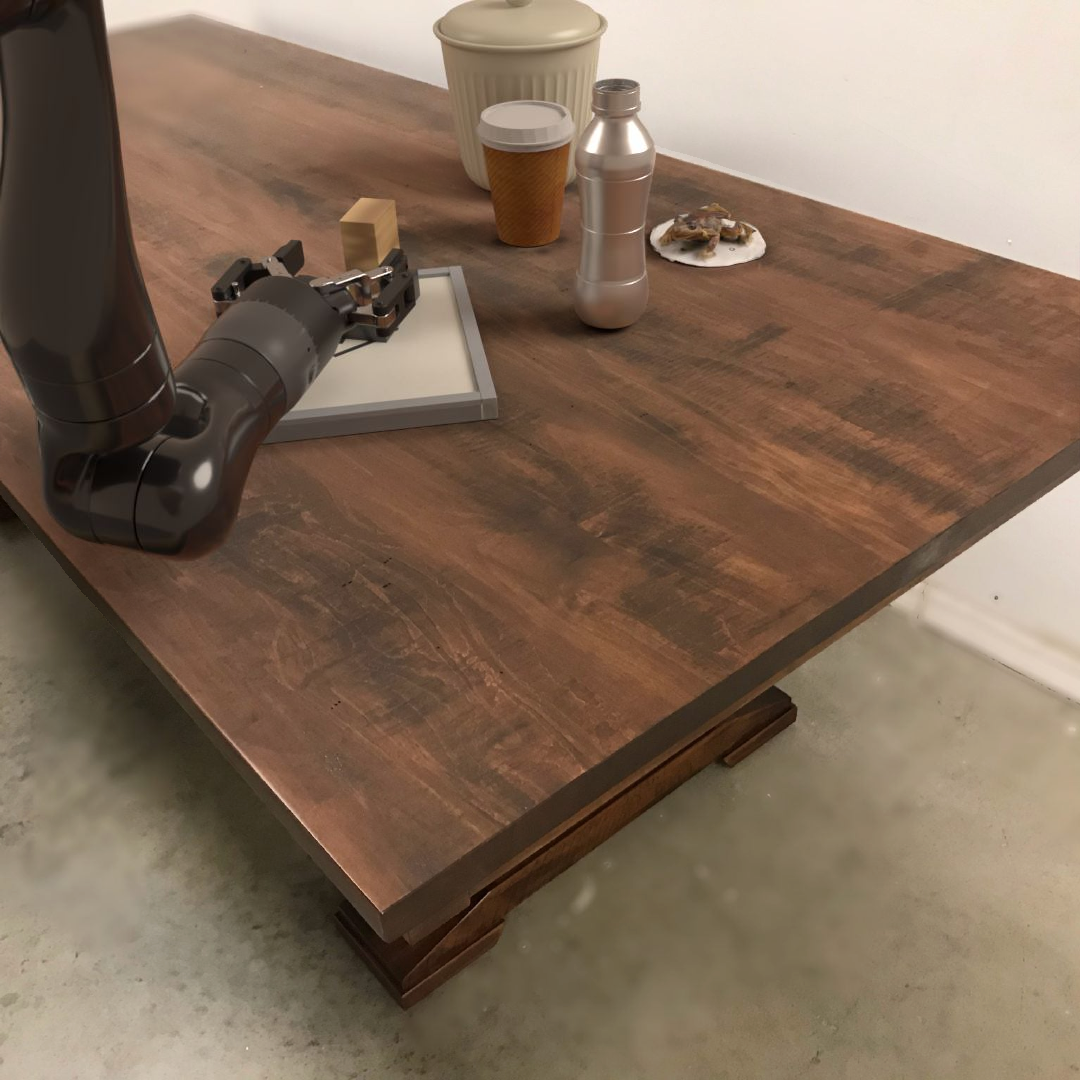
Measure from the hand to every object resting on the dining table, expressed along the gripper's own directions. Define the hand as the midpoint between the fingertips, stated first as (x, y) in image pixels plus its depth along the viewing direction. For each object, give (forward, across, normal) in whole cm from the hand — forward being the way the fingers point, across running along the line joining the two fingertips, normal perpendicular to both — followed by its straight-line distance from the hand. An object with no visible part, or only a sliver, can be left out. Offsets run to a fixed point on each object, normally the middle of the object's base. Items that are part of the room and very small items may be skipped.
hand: (348, 255), depth 88 cm
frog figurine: (+28, -26, +9) cm, 39 cm away
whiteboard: (0, 0, +9) cm, 9 cm away
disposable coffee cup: (+27, -8, +9) cm, 30 cm away
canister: (+42, -4, +9) cm, 43 cm away
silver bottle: (+10, -20, +9) cm, 24 cm away
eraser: (+4, 0, +7) cm, 9 cm away
